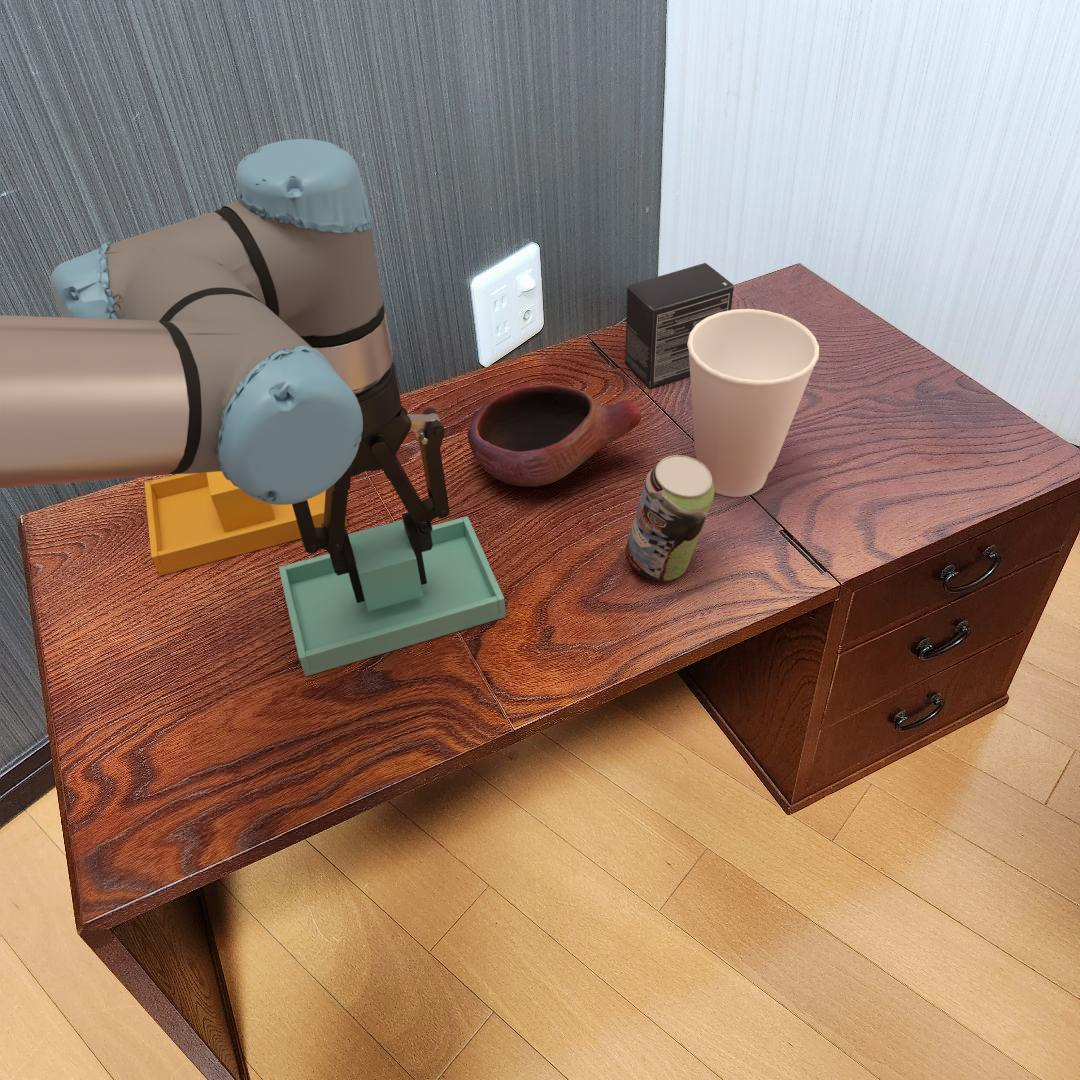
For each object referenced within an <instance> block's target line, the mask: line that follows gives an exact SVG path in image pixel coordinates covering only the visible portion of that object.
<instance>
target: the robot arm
mask: <svg viewBox="0 0 1080 1080" xmlns="http://www.w3.org/2000/svg"><path fill="white" fill-rule="evenodd" d="M357 164H358V163H357V162H356V160H355V158H353V156H352V155H351V154H350V153H349V152H347V151H346V150H344V149H342V148H341V147H340V146H339V145H337V144H335V143H333V142H329V141H325V140H321V139H313V138H297V139H296V138H294V139H286V140H285V139H284V140H280V141H276V142H271V143H269V144H268V143H267V144H265V145H263V146H260V147H258V148H257V149H256V150H255V152H254V153H250V154H247V155H245V156H244V157H243V158H242V159H241V160H240V162H239V163H238V165H237V167H236V171H235V180H236V187H237V188H236V190H235V192H236V197H237V200H236V201H233V202H231V203H228V204H225V205H223V206H221V207H220V208H219V209H216V210H213V211H212V212H208V213H204V214H201V215H198V216H194V217H191V218H189V219H185V220H182V221H179V222H176V223H173V224H168V225H167V226H162V227H160V228H157V229H153V230H150V231H147V232H143V233H141V234H136V235H134V236H130V237H128V238H125V239H121V240H118V241H115V242H112V241H108V242H104V243H103V244H101V246H100V247H99V248H96V249H94V250H92V251H91V250H90V251H89V252H87V253H84V254H81V255H79V256H77V257H74V258H71V259H69V260H67V261H64V262H61V263H60V264H58V265H57V266H56V267H55V268H54V270H53V271H52V272H51V276H50V288H51V292H52V295H53V297H54V300H55V303H56V305H57V308H58V310H59V312H60V315H61V316H59V317H58V316H36V315H35V316H33V315H32V316H31V315H6V314H5V315H4V314H3V315H1V314H0V489H9V488H10V489H11V488H20V487H31V486H34V487H35V486H47V485H57V484H71V483H79V482H80V483H83V482H94V481H107V480H119V479H121V480H122V479H132V478H143V477H155V476H156V477H157V476H168V475H170V476H171V475H177V474H192V473H204V472H217V471H221V472H222V473H223V475H224V477H225V478H226V479H227V480H230V481H231V482H232V484H233V485H234V486H236V487H238V488H240V489H241V490H242V491H243V492H245V493H246V494H248V495H249V496H251V497H253V498H255V499H257V500H260V501H263V502H268V503H270V504H274V505H288V504H292V506H293V510H294V513H295V517H296V520H297V524H298V527H299V531H300V534H301V542H302V544H303V547H304V551H305V552H306V553H307V554H315V553H317V552H318V551H319V550H323V551H327V552H328V554H330V558H331V561H332V565H333V569H334V572H335V573H336V574H337V575H338V576H339V575H342V574H346V573H349V577H350V581H351V584H352V588H353V591H354V595H355V598H356V601H357V603H360V602H363V601H365V600H364V596H363V592H362V588H361V584H360V580H359V576H358V572H357V568H356V561H355V557H354V553H353V550H352V546H351V543H350V540H349V536H348V534H349V533H348V530H347V528H346V527H345V519H346V520H347V509H348V507H347V506H348V498H349V497H348V496H349V491H350V490H351V483H352V477H356V476H357V477H358V476H359V475H362V473H365V472H377V471H381V470H382V471H383V473H384V475H385V476H386V478H387V480H388V481H390V484H391V485H392V488H393V489H394V490H395V492H396V494H397V496H398V498H399V499H400V501H401V503H402V505H403V506H404V508H405V509H406V511H407V512H404V513H402V514H401V517H402V521H403V524H404V527H405V531H406V533H407V536H408V539H409V541H410V544H411V547H412V549H413V551H414V553H415V556H416V560H417V565H418V571H419V576H420V582H421V585H423V584H427V579H426V574H425V568H424V562H423V556H422V552H425V551H428V550H431V549H432V546H433V543H432V537H431V531H432V526H433V525H432V522H433V521H434V520H436V518H438V519H445V518H447V517H448V516H449V515H450V504H449V498H448V492H447V485H446V478H445V472H444V466H443V459H442V452H441V448H442V445H443V441H444V438H445V433H446V429H445V426H444V425H443V422H442V420H441V418H440V416H439V413H438V411H437V410H436V409H435V408H434V407H427V408H425V409H424V410H423V411H422V413H409V412H408V410H407V409H406V408H405V407H404V406H403V404H402V400H401V395H400V389H399V383H398V382H399V381H398V377H397V370H396V366H395V365H396V364H395V363H394V351H393V346H392V340H391V335H390V331H389V325H388V319H387V314H386V313H387V312H386V309H385V304H384V297H383V293H382V287H381V280H380V275H379V274H380V273H379V268H378V261H377V256H376V255H377V254H376V249H375V242H374V236H373V235H374V234H373V224H374V221H373V216H372V215H371V214H372V213H371V212H370V208H369V203H368V199H367V195H366V191H365V186H364V183H363V181H362V177H361V172H360V169H359V166H358V165H357ZM410 432H412V434H413V437H414V439H415V441H417V442H418V444H419V450H420V456H421V462H422V465H423V466H422V468H423V472H424V479H425V484H426V490H427V496H428V497H426V498H425V499H421V498H420V495H419V494H418V492H417V490H416V488H415V487H414V484H413V483H412V481H411V480H410V478H409V476H408V474H407V472H406V471H405V469H404V467H403V465H402V463H401V461H400V460H399V458H398V456H397V455H396V454H397V453H398V451H399V450H400V448H401V447H402V444H403V443H404V441H405V440H406V438H407V436H408V435H409V433H410ZM325 490H326V494H325V507H324V521H323V523H321V525H322V527H314V523H313V520H312V516H311V512H310V508H309V505H308V501H307V500H308V499H310V498H312V497H314V496H316V495H319V494H321V493H322V492H324V491H325Z"/></svg>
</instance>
